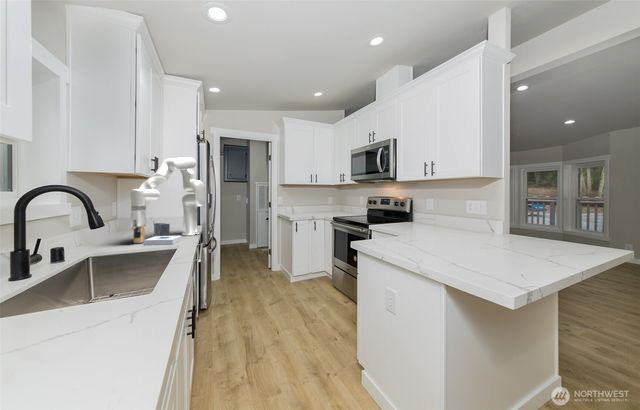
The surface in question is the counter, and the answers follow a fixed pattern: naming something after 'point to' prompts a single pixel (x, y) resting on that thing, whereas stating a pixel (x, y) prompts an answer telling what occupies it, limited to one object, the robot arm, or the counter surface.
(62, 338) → the counter surface
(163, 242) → the socket
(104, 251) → the counter surface
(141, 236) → the peg
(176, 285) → the counter surface
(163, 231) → the small box
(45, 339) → the counter surface
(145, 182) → the robot arm
